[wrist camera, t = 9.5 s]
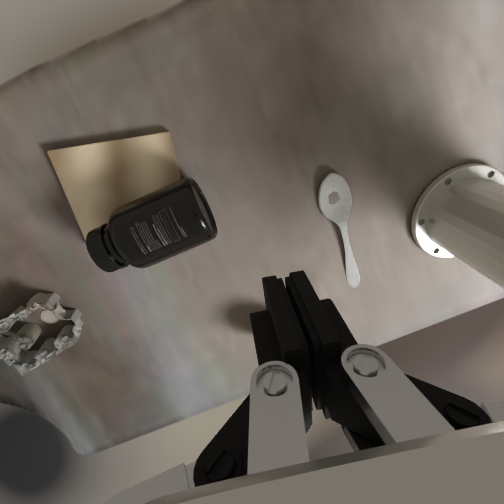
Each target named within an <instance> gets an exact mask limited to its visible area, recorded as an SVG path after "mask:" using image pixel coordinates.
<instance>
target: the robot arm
mask: <svg viewBox="0 0 504 504" xmlns="http://www.w3.org/2000/svg"><path fill="white" fill-rule="evenodd" d="M411 231H412V235H413V238H414V240H415V242H416V244H417V245H418V246H419V247H420V248H421V249H422V250H424V251H425V252H427V253H428V254H430V255H432V256H436V257H454V256H455V257H456V258H458V259H459V260H461V261H462V262H464V263H465V264H467V265H469V266H470V267H472V268H473V269H475V270H476V271H478V272H479V273H481V274H482V275H484V276H485V277H487V278H488V279H490V280H492V281H493V282H495V283H496V284H498V285H499V286H501V287H502V288H504V176H503V174H502V173H501V172H500V171H498V170H497V169H496V168H493V167H491V166H488V165H484V164H478V163H470V164H464V165H460V166H457V167H455V168H452V169H450V170H448V171H447V172H445V173H443V174H442V175H440V176H439V177H438V178H436V179H435V180H434V181H433V182H432V183H431V184H430V185H429V186H428V187H427V188H426V190H425V191H424V192H423V194H422V195H421V196H420V198H419V200H418V202H417V204H416V206H415V209H414V211H413V214H412V220H411ZM262 282H263V289H264V297H265V304H266V310H265V311H260V312H254V313H250V319H251V324H252V330H253V336H254V342H255V347H256V353H257V358H258V364H259V367H258V368H257V369H255V371H254V373H253V374H252V377H251V384H250V394H249V395H248V397H247V398H246V399H245V400H244V401H243V403H242V404H241V405H240V406H239V407H238V409H237V410H236V411H235V413H234V414H233V415H232V416H231V417H230V418H229V420H228V421H227V422H226V423H225V425H224V426H223V427H222V428H221V429H220V431H219V432H218V433H217V435H215V437H214V438H213V439H212V440H211V442H210V443H209V444H208V445H207V447H206V448H205V449H204V450H203V451H202V453H201V454H200V456H199V457H198V459H197V461H195V462H194V463H191V464H189V465H187V466H185V464H184V463H182V464H180V465H178V466H176V467H174V468H171V469H169V470H167V471H165V472H163V473H161V474H159V475H156V476H154V477H152V478H150V479H148V480H146V481H143V482H141V483H139V484H137V485H135V486H133V487H131V488H129V489H126V490H124V491H122V492H120V493H118V494H116V495H114V496H113V497H111V498H110V499H108V500H107V501H106V502H105V503H104V504H504V401H482V402H481V405H477V404H475V403H474V402H471V401H470V400H468V399H466V398H464V397H461V396H459V395H456V394H454V393H451V392H449V391H446V390H444V389H441V388H439V387H436V386H433V385H431V384H429V383H426V382H424V381H421V380H419V379H416V378H414V377H411V376H409V375H406V374H404V373H403V372H402V371H401V370H400V369H399V368H398V367H397V366H396V365H395V364H394V362H393V361H392V360H391V359H390V358H389V357H388V356H387V355H386V354H385V353H384V352H383V351H382V350H380V349H378V348H376V347H374V346H370V345H366V344H357V342H356V340H355V339H354V337H353V335H352V334H351V332H350V330H349V329H348V327H347V325H346V323H345V322H344V320H343V318H342V317H341V315H340V313H339V312H338V310H337V308H336V307H335V305H334V303H333V302H332V300H331V299H324V300H319V298H318V296H317V294H316V292H315V291H314V289H313V287H312V285H311V283H310V281H309V279H308V278H307V276H306V274H305V272H304V271H303V270H302V271H297V272H291V273H290V274H289V277H285V284H286V288H285V285H284V283H283V280H282V278H278V279H277V278H276V276H269V277H264V278H262ZM312 398H313V401H314V404H315V406H316V409H317V410H320V409H322V410H323V413H324V416H325V419H328V418H331V419H332V420H333V421H335V422H337V423H339V424H340V425H341V428H342V431H343V433H344V435H345V437H346V439H347V441H348V442H349V444H350V446H351V448H352V449H353V451H354V452H351V453H346V454H341V455H337V456H332V457H327V458H323V459H319V460H313V461H309V455H308V447H307V440H306V433H307V431H308V430H309V428H310V426H311V425H312V412H311V411H312V410H313V408H312Z"/></svg>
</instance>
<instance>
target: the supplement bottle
mask: <svg viewBox="0 0 504 504" xmlns="http://www.w3.org/2000/svg"><path fill="white" fill-rule="evenodd" d="M216 236H217V227H216V223H215V220H214V217H213V214H212V212H211V209H210V207H209V205H208V203H207V201H206V199H205V197H204V195H203V193H202V191H201V189H200V188H199V186H198V184H197V183H196V182H195V180H194V179H192V178H189V177H186V178H183V179H181V180H178V181H176V182H174V183H171V184H169V185H167V186H165V187H162V188H160V189H158V190H156V191H153V192H151V193H149V194H147V195H144V196H142V197H140V198H138V199H135V200H133V201H131V202H129V203H126V204H124V205H122V206H120V207H118V208H116V209H114V210H113V211H112V213H111V214H110V216H109V219H108V224H107V223H106V224H103V225H101V226H99V227H98V228H95V229H93V230H91V231H90V232H88V234H87V237H86V246H87V250H88V252H89V254H90V256H91V258H92V259H93V261H94V262H95V263H96V265H97V266H98V267H99V268H101V269H102V270H103V271H106V272H113V271H116V270H118V269H122V268H125V267H127V266H128V265H131V266H133V267H136V268H147V267H149V266H152V265H154V264H157V263H159V262H161V261H164V260H166V259H168V258H171V257H173V256H175V255H178V254H180V253H182V252H185V251H187V250H190V249H192V248H194V247H197V246H199V245H201V244H204V243H206V242H208V241H210V240H212V239H214V238H215V237H216Z"/></svg>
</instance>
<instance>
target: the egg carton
mask: <svg viewBox="0 0 504 504" xmlns="http://www.w3.org/2000/svg"><path fill="white" fill-rule="evenodd" d="M59 299H60V296H59V295H58V294H56V293H55V292H53V293H50V294H46V293H42V292H38V293H37V294H36V295H35V296H33V297H31V298H30V301H29V302H28V303H27V305H26V307H23V306H20V307H19V308H17V309H16V310H15V311H14V312H13V313H11V315H10V316H9V317H7V318H4V319H2V320H0V333H2V332H6V333H7V332H8V331H9V329H10V328H11V326H12V325H13V324H14V323H15V322H16V321H17V320H23V319H24V318H25V319H26V318H27V317H28V315H29V313H31V312H33V311H34V310H36V309H39V308H41V309H45V310H43V311H42V312H41V313H40V317H41V319H42V320H43V321H44V322H46V323H55V322H57V321H58V320H59V319H61V320H72V321H73V322H74V323H75V324H74V325H66V326H64V327H63V329H62V330H61V332H60V333H59V335H58V336H57V338H48V339H46V340H45V341H44V343H43V344H42V346H41V347H40V349H39V350H32V351H27V350H28V349H30V348H31V346H32V345H33V344H34V343H35V341H36V340H37V338H38V337H39V335H40V334H41V328H40V327H39V326H38V325H37V324H34V323H26V324H24V325H23V326H22V328H21V329H20V330H19V331H18V333H17V334H16V335H15V336H9V337H4V336H3V335H1V334H0V359H1V360H4V361H5V362H6V363H7V364H8V366H10V365H12V366H14V367H15V368H16V370H17V371H18V372H19V373H20V374H21V375H22V376H23V375H25V374H27V373H28V372H30V371H31V370H33V369H34V368H36V367H37V366H38V365H40V364H43V363H44V362H45V361H49V360H50V359H52V358H53V357H54V356H56V355H57V354H59V353H61V352H62V351H63V350H65V349H67V348H69V347H71V346H73V345H74V344H75V343H76V342H77V341H78V339H79V336H80V334H81V332H82V328H81V326H82V324H83V322H82V321H81V320H80V316H81V312H80V311H79V310H78V309H74V310H67V309H64V308H62V307H61V306H60V304H59Z"/></svg>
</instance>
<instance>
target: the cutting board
mask: <svg viewBox="0 0 504 504" xmlns="http://www.w3.org/2000/svg"><path fill="white" fill-rule="evenodd" d="M47 153H48V155H49V157H50V160H51V162H52V164H53V166H54V169H55V171H56V173H57V176H58V178H59V180H60V183H61V185H62V187H63V190H64V192H65V194H66V197H67V199H68V201H69V204H70V206H71V208H72V210H73V213H74V215H75V217H76V220H77V222H78V224H79V227H80V229H81V231H82V234H83V236H84V238H85V241H86V237H87V234H88V232H90V231H91V230H93V229H95V228H98V227H99V226H101V225H103V224H106V223H107V224H108V219H109V216H110V214H111V213H112V211H113V210H114V209H116V208H118V207H120V206H122V205H124V204H126V203H129V202H131V201H133V200H135V199H138V198H140V197H142V196H144V195H147V194H149V193H151V192H153V191H156V190H158V189H160V188H162V187H165V186H167V185H169V184H171V183H174V182H176V181H178V180H181V176H180V172H179V168H178V164H177V160H176V156H175V152H174V147H173V143H172V139H171V135H170V131H168V132H161V133H155V134H148V135H142V136H135V137H129V138H123V139H116V140H110V141H103V142H97V143H90V144H84V145H78V146H71V147H65V148H58V149H52V150H49V151H47Z"/></svg>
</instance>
